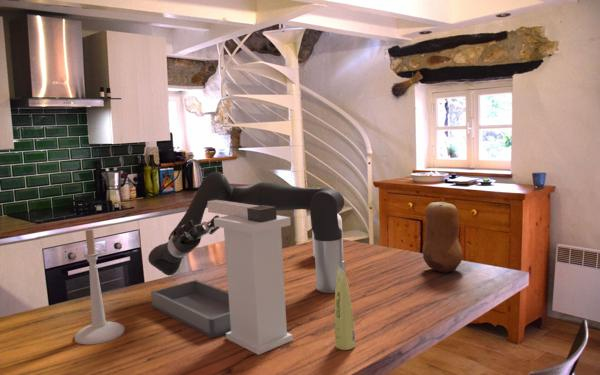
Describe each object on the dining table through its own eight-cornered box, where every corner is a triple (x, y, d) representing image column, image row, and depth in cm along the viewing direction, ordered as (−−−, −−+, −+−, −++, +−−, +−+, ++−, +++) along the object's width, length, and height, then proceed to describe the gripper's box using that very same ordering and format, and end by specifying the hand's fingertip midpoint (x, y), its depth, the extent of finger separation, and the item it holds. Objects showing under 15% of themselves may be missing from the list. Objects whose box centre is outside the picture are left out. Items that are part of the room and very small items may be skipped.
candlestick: (112, 321, 148) (102, 221, 144) (132, 332, 138) (122, 226, 135) (67, 335, 139) (55, 229, 135) (86, 348, 130) (73, 235, 126)
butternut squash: (466, 268, 182) (466, 200, 179) (456, 278, 171) (455, 206, 168) (429, 264, 190) (428, 198, 187) (417, 273, 178) (415, 204, 175)
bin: (152, 307, 158) (151, 291, 158) (197, 294, 169) (195, 279, 168) (211, 338, 132) (210, 320, 131) (260, 320, 143) (259, 303, 142)
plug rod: (205, 212, 138) (204, 201, 137) (220, 209, 141) (219, 199, 141) (260, 222, 119) (259, 210, 119) (276, 219, 122) (276, 207, 122)
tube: (329, 346, 123) (325, 269, 121) (341, 339, 127) (337, 264, 125) (348, 352, 120) (344, 273, 117) (359, 345, 124) (356, 268, 121)
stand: (222, 338, 132) (213, 218, 128) (258, 324, 140) (251, 211, 136) (259, 356, 120) (250, 225, 116) (296, 340, 128) (290, 217, 124)
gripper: (158, 234, 151) (179, 212, 139) (200, 226, 160) (222, 205, 149) (166, 258, 149) (187, 237, 137) (207, 248, 158) (231, 228, 147)
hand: (205, 220), depth 143 cm, fingers open, 8 cm apart
